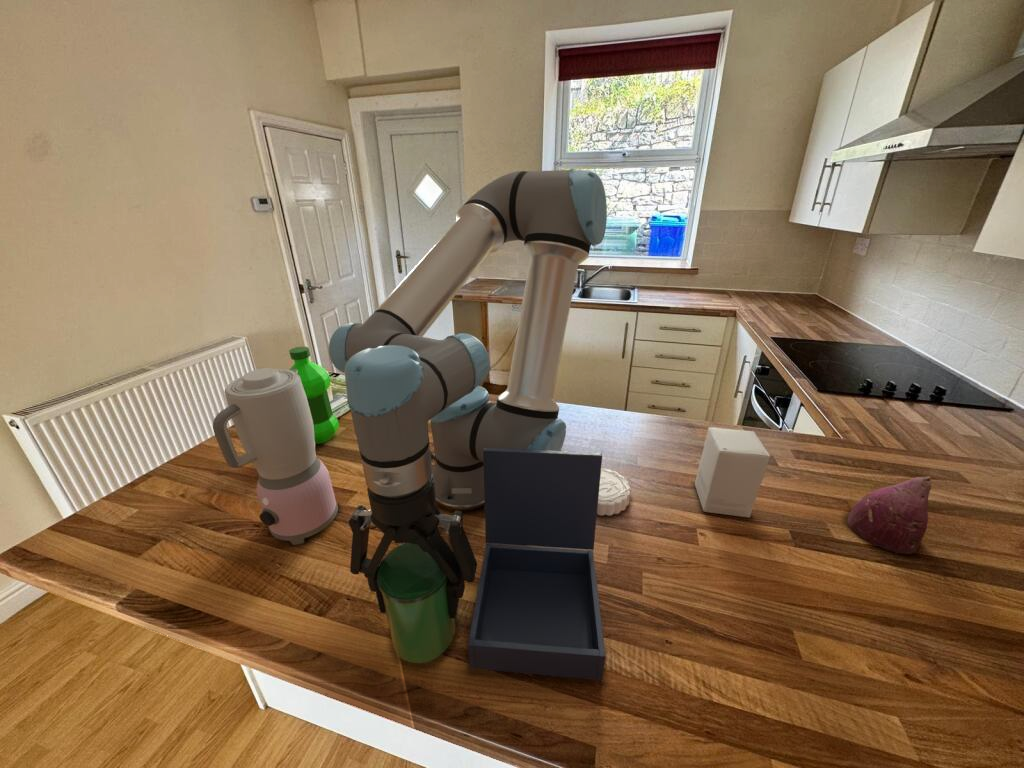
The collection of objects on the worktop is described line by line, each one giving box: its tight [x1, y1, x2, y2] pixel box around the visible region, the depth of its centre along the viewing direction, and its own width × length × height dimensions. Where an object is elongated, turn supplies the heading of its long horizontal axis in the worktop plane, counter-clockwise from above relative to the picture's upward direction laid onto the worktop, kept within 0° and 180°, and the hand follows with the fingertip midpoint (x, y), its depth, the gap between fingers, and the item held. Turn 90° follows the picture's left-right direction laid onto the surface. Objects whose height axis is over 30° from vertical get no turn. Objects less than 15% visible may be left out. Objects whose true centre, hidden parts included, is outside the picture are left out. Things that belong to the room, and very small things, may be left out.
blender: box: [212, 367, 339, 546], centre depth 71 cm, size 16×12×32 cm
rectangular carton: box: [694, 426, 771, 518], centre depth 80 cm, size 9×9×15 cm
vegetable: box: [847, 476, 932, 555], centre depth 73 cm, size 10×10×15 cm
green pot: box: [377, 542, 456, 664], centre depth 56 cm, size 9×9×14 cm
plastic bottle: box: [288, 345, 340, 445], centre depth 100 cm, size 10×10×25 cm
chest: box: [467, 543, 607, 681], centre depth 60 cm, size 17×18×6 cm
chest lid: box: [483, 448, 603, 551], centre depth 63 cm, size 18×18×1 cm
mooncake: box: [597, 467, 632, 517], centre depth 84 cm, size 12×12×4 cm
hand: (420, 606), depth 56 cm, fingers open, 9 cm apart
